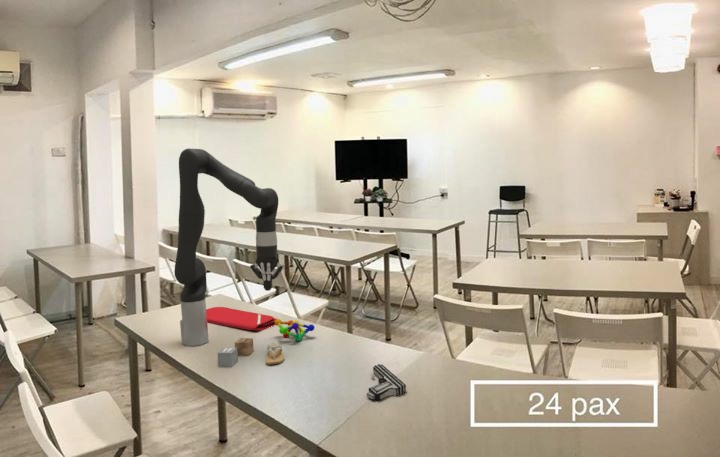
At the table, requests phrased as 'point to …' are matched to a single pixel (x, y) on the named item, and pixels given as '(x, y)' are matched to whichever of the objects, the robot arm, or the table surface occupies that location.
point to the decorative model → (295, 326)
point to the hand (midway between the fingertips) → (268, 290)
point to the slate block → (227, 357)
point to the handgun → (385, 384)
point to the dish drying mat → (239, 318)
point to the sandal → (274, 354)
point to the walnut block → (244, 346)
